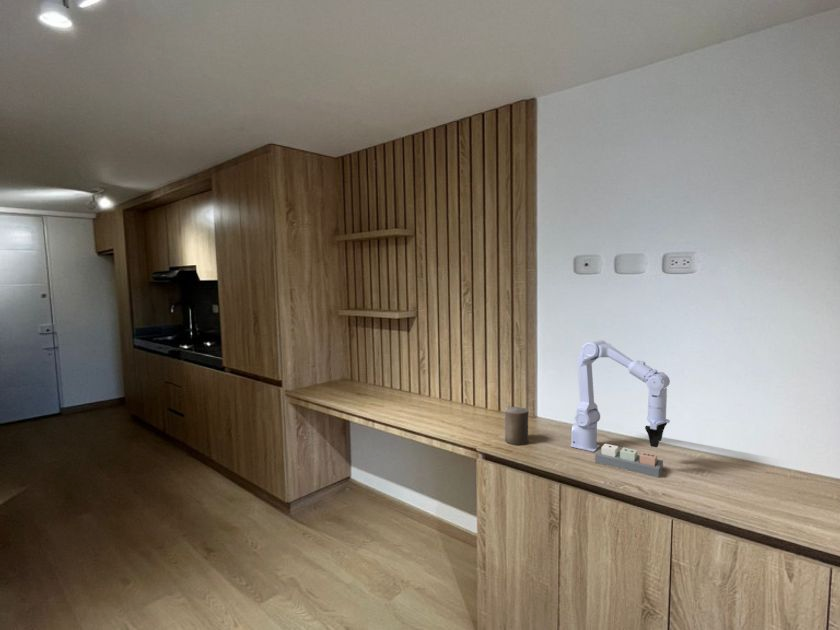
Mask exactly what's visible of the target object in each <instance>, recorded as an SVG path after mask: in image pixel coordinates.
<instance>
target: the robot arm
mask: <svg viewBox="0 0 840 630" xmlns="http://www.w3.org/2000/svg"><path fill="white" fill-rule="evenodd" d="M599 358H608V359H611V360H612V361H615V362H617V363H619V364H620V365H622V366H624V367H625V368H627V369H628V372H629V374H631V375H632V376H633V377H635V378H637V379H638V380H640V381H641V382H643V383H645V384H646V387H647V388H648V397H647V398H648V405H647V417H646V420H647V421H648V423H649V425H645V426H644V428H645V432H646V433H647V437H648V440H649V444H650V445H649V446H650V447H651V448H658V446H659V444H660V442H661V441H662V438H663V435H664V430H665V428H666V426H667V424H670V419H667V403H668V402H667V398H668V394H667V393H668V387H669V385H670V378H669V376H668V374H666V373H665V372H664V371H658V370H657V369H654V368H652V367H650V366H649V365H647V364H646V362H645V361H644V360H633V359H632V358H630V357H629V356H627V355H626V354H624V353H623V352H621V351H620V350H618V349H617V348H616V347H614V346H613V345H612V344H611V343H608V342H606V341H605V340H603V339H598V340H595V341H588V342H585V344H583V345H582V346H581V347H580V352H579V355H578V357H577V359H576V361H577V363H576V364H577V375H578V377H577V378H578V380H577V381H578V393H579V395H578V396H579V403H578V405H577V406H576V412H575V415H574V420H575V423H573V424H572V426H571V434H570V435H571V436H570V438H571V439H570V448H575V449H579V450H584V451H587V452H596V451H597V450H598V449H599V447H600V444H597V441H598V440H597V435H598V434H597V433H598V431H597V430H598V422H599V421H600V419H601V413H600V411H599V410H598V405H597V403H596V402H595V398H594V397H595V396H594V394H595V393H594V381H593V363H594V362H595V361H597V359H599Z"/></svg>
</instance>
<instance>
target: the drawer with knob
mask: <svg viewBox="0 0 840 630" xmlns="http://www.w3.org/2000/svg"><path fill="white" fill-rule="evenodd" d="M601 448H602V449H601ZM601 448H600V449H601V454H603V455H607V456H612V457H616V456H617V455H618V451H619V445H614V444H608V443H604V444H603V445H602V446H601Z"/></svg>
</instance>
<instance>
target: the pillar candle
mask: <svg viewBox="0 0 840 630" xmlns="http://www.w3.org/2000/svg"><path fill="white" fill-rule="evenodd" d="M504 410H505V411H504V441H505V442H506V443H507V444H509V445H513V446H524V445H527V444H528V443H529V409H527V408H525V407H521V406H509V407H506V408H505V409H504Z"/></svg>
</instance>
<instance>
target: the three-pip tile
mask: <svg viewBox="0 0 840 630" xmlns="http://www.w3.org/2000/svg"><path fill="white" fill-rule="evenodd" d="M657 459H658V454H656V453H652V452H647V451H641V453H640V463H643V464H647V465H652V466H656V465H657Z"/></svg>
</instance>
